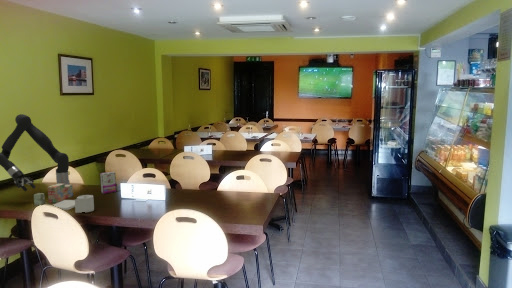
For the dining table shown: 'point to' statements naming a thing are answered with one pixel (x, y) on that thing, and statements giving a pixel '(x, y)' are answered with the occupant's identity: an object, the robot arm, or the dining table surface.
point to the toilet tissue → (84, 204)
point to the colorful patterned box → (59, 192)
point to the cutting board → (65, 204)
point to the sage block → (39, 199)
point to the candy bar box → (108, 182)
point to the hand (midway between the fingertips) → (30, 189)
